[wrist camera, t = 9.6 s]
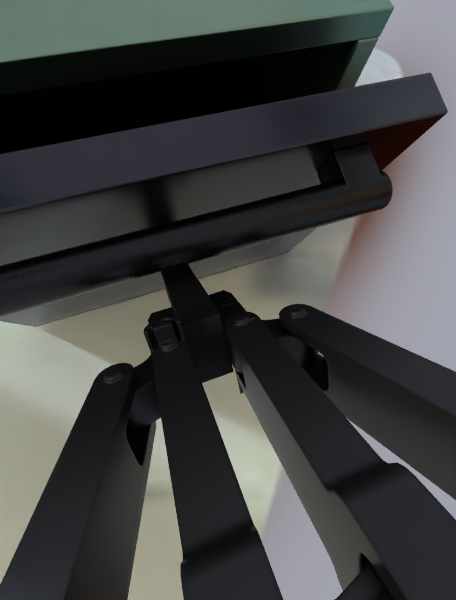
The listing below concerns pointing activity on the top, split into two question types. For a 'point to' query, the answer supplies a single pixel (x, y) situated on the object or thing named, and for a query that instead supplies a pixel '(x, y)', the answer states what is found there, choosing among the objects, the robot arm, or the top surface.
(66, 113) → the oven
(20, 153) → the oven door
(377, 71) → the top surface
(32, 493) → the top surface
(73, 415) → the top surface
